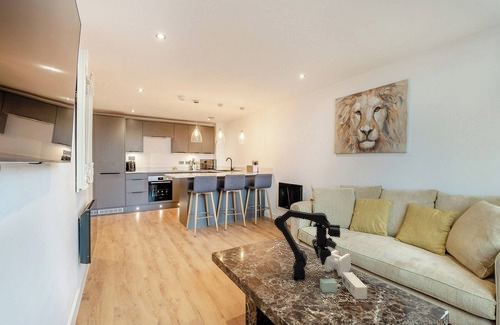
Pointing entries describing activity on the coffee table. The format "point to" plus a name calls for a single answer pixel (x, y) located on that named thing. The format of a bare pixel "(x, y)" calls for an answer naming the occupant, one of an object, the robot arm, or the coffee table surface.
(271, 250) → the coffee table surface
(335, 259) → the cable organizer
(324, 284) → the charger
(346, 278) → the bar
